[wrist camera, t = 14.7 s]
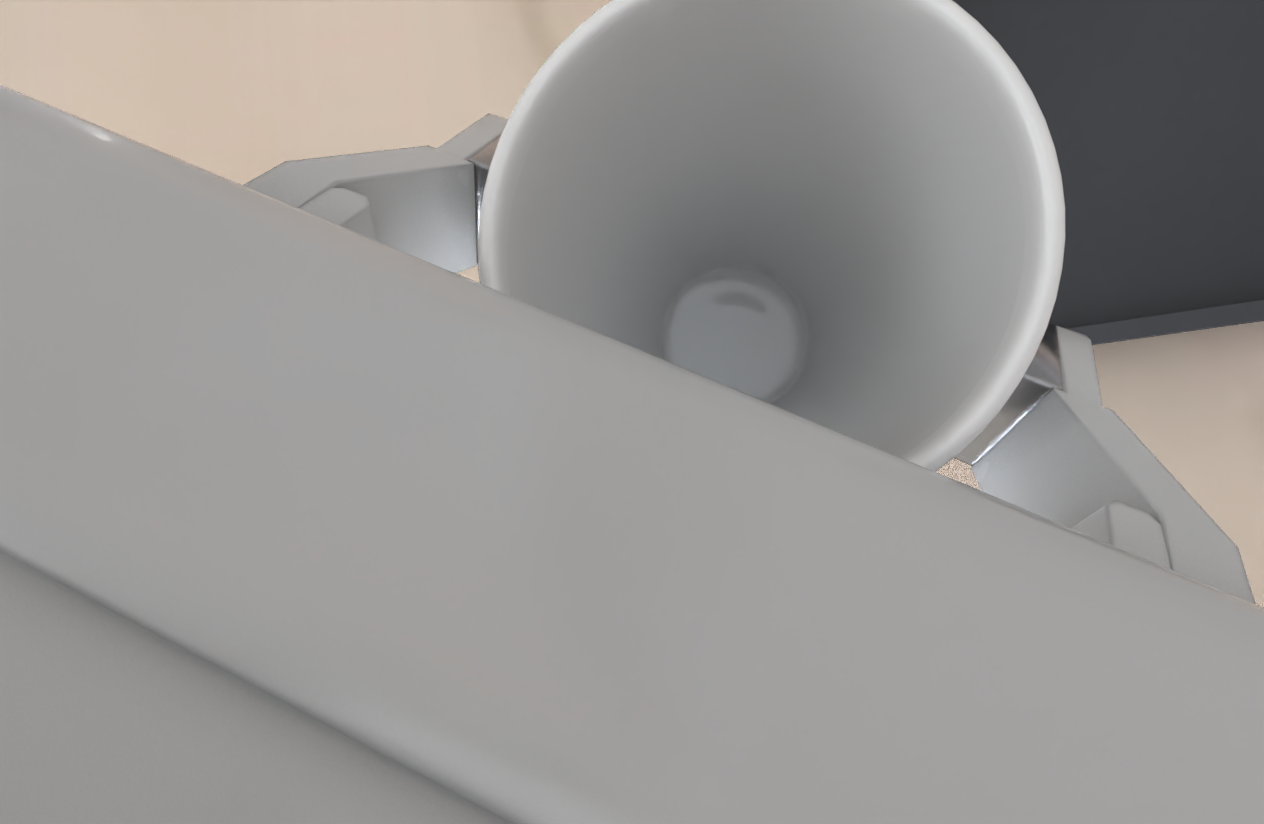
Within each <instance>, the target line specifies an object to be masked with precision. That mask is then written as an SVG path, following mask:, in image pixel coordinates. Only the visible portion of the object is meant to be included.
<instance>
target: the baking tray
mask: <svg viewBox="0 0 1264 824" xmlns="http://www.w3.org/2000/svg"><path fill="white" fill-rule="evenodd" d="M953 1H954V2H956V3H957V4H958V5H959V6H960V7H962V8H963V9H964V10H965V11H966V12H968V13H969V14H970V15H971V16H972V17H973V18H975V19H976V20H977V21H978V22H979V23H980V24H981V25H982V26H983V27H984V28H985V29H986V30H987V31H988V32H989V33H990V34H991V35H992V36H993V37H994V38H995V39H996V40H997V42H998V43H999V44H1000V45H1001V46H1002V48H1003V49H1004V50H1005V52H1006V53H1007V54H1008V55H1009V57H1010V58H1011V59H1012V61H1013V62H1014V63H1015V65H1016V66H1017V67H1018V69H1019V70H1020V72H1021V74H1022V75H1023V77H1024V79H1025V80H1026V82H1027V84H1028V85H1029V87H1030V89H1031V90H1032V92H1033V94H1034V96H1035V98H1036V100H1037V102H1038V105H1039V107H1040V109H1041V111H1042V113H1043V115H1044V117H1045V119H1046V122H1047V125H1048V128H1049V131H1050V134H1051V137H1052V140H1053V143H1054V146H1055V149H1056V154H1057V158H1058V162H1059V167H1060V171H1061V176H1062V183H1063V192H1064V201H1065V248H1064V258H1063V268H1062V273H1061V278H1060V283H1059V288H1058V293H1057V297H1056V301H1055V304H1054V308H1053V311H1052V314H1051V317H1050V320H1049V323H1052V324H1055V325H1057V326H1060V327H1063V328H1066V329H1069V330H1072V331H1075V332H1078V333H1081V334H1084V335H1086V336H1087V337H1088V338H1089V339H1090V340H1091V342H1092V345H1096V344H1103V343H1110V342H1117V341H1124V340H1131V339H1139V338H1146V337H1153V336H1160V335H1167V334H1174V333H1181V332H1188V331H1195V330H1202V329H1209V328H1216V327H1223V326H1230V325H1238V324H1245V323H1252V322H1259V321H1264V0H953Z"/></svg>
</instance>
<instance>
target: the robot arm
mask: <svg viewBox="0 0 1264 824" xmlns="http://www.w3.org/2000/svg"><path fill="white" fill-rule="evenodd" d="M507 121H508V119H506V118H503V117H500V116H497V115H493V114H489V113H488V114H487V115H485V116H484V117H483V118H481V119H480V120H478V121H477V122H475V123H474V124H472V125H471V126H469V127H468V128H466V129H465V130H464V131H462V132H461V133H459V134H458V135H456V136H455V137H453V138H452V139H450V140H449V141H447V142H446V143H445V144H443V145H442V146H440V147H439V148H437V149H436V148H433V147H431V146H421V147H412V148H402V149H393V150H384V151H375V152H366V153H357V154H348V155H339V156H330V157H321V158H312V159H303V160H294V161H285V162H283V163H282V164H280V165H278V166H276V167H274V168H273V169H271V170H269V171H267V172H265V173H264V174H262V175H260V176H258V177H257V178H255V179H253V180H251V181H249V182H248V183H246V184H244V185H241V184H238V183H236V182H234V181H231V180H229V179H226V178H224V177H222V176H219V175H217V174H214V173H212V172H209V171H207V170H205V169H202V168H200V167H197V166H195V165H193V164H190V163H188V162H185V161H183V160H181V159H178V158H176V157H173V156H171V155H168V154H166V153H164V152H161V151H159V150H156V149H154V148H152V147H149V146H147V145H144V144H142V143H139V142H137V141H135V140H132V139H130V138H127V137H125V136H123V135H120V134H118V133H115V132H113V131H111V130H108V129H106V128H103V127H101V126H98V125H96V124H94V123H91V122H89V121H86V120H84V119H82V118H79V117H77V116H74V115H72V114H70V113H67V112H65V111H62V110H60V109H57V108H55V107H53V106H50V105H48V104H45V103H43V102H41V101H38V100H36V99H33V98H31V97H28V96H26V95H24V94H21V93H19V92H16V91H14V90H12V89H9V88H7V87H4V86H2V85H0V824H1264V608H1262V607H1260V606H1257V605H1256V604H1255V601H1254V598H1253V595H1252V591H1251V588H1250V585H1249V582H1248V578H1247V575H1246V572H1245V569H1244V565H1243V562H1242V559H1241V555H1240V552H1239V549H1238V547H1237V546H1236V545H1235V544H1234V543H1233V541H1232V540H1231V539H1230V538H1229V537H1228V536H1227V535H1226V534H1225V533H1224V532H1223V530H1222V529H1221V528H1220V527H1219V526H1218V525H1217V524H1216V523H1215V522H1214V521H1213V519H1212V518H1211V517H1210V516H1209V515H1208V514H1207V513H1206V512H1205V511H1204V510H1203V509H1202V507H1201V506H1200V505H1199V504H1198V503H1197V502H1196V501H1195V500H1194V499H1193V498H1192V496H1191V495H1190V494H1189V493H1188V492H1187V491H1186V490H1185V489H1184V488H1183V487H1182V485H1181V484H1180V483H1179V482H1178V481H1177V480H1176V479H1175V478H1174V477H1173V476H1172V474H1171V473H1170V472H1169V471H1168V470H1167V469H1166V468H1165V467H1164V466H1163V465H1162V464H1161V462H1160V461H1159V460H1158V459H1157V458H1156V457H1155V456H1154V455H1153V454H1152V453H1151V451H1150V450H1149V449H1148V448H1147V447H1146V446H1145V445H1144V444H1143V443H1142V442H1141V440H1140V439H1139V438H1138V437H1137V436H1136V435H1135V434H1134V433H1133V432H1132V431H1131V429H1130V428H1129V427H1128V426H1127V425H1126V424H1125V423H1124V422H1123V421H1122V420H1121V419H1120V417H1119V416H1118V415H1117V414H1116V413H1115V412H1114V411H1112V410H1110V409H1107V408H1105V407H1103V405H1102V399H1101V393H1100V388H1099V382H1098V376H1097V371H1096V365H1095V359H1094V353H1093V348H1092V342H1091V340H1090V339H1089V338H1088V337H1087V336H1086V335H1084V334H1081V333H1078V332H1075V331H1072V330H1069V329H1066V328H1063V327H1060V326H1057V325H1055V324H1052V323H1048V326H1047V329H1046V332H1045V334H1044V336H1043V338H1042V341H1041V343H1040V345H1039V348H1038V350H1037V352H1036V354H1035V357H1034V359H1033V360H1032V362H1031V364H1030V366H1029V367H1028V369H1027V371H1026V373H1025V375H1024V376H1023V378H1022V380H1021V382H1020V383H1019V385H1018V386H1017V388H1016V389H1015V391H1014V392H1013V393H1012V395H1011V396H1010V398H1009V399H1008V401H1007V402H1006V403H1005V405H1004V406H1003V408H1002V409H1001V410H1000V411H999V413H998V414H997V415H996V416H995V417H994V418H993V419H992V421H991V422H990V423H989V424H988V425H987V426H986V428H985V429H984V430H983V431H982V432H981V433H980V434H979V435H978V436H977V437H976V438H975V439H974V440H973V441H972V442H971V443H970V444H969V445H968V446H967V447H965V448H964V449H963V450H962V451H961V452H960V453H959V454H958V455H957V456H955V457H954V458H955V459H957V460H959V461H962V462H964V463H966V464H969V465H971V466H972V467H971V469H972V471H973V474H974V476H975V478H976V480H977V482H978V484H979V486H980V488H981V490H982V491H980V490H978V489H975V488H973V487H970V486H968V485H965V484H963V483H961V482H958V481H956V480H953V479H951V478H949V477H946V476H944V475H941V474H939V473H936V472H934V471H932V470H929V469H927V468H924V467H922V466H920V465H917V464H915V463H912V462H910V461H907V460H905V459H903V458H900V457H898V456H895V455H893V454H891V453H888V452H886V451H883V450H881V449H878V448H876V447H874V446H871V445H869V444H866V443H864V442H862V441H859V440H857V439H854V438H852V437H849V436H847V435H845V434H842V433H840V432H837V431H835V430H833V429H830V428H828V427H825V426H823V425H820V424H818V423H816V422H813V421H811V420H808V419H806V418H804V417H801V416H799V415H796V414H794V413H791V412H789V411H787V410H784V409H782V408H779V407H777V406H775V405H772V404H770V403H767V402H765V401H762V400H760V399H758V398H755V397H753V396H750V395H748V394H746V393H743V392H741V391H738V390H736V389H734V388H731V387H729V386H726V385H724V384H721V383H719V382H717V381H714V380H712V379H709V378H707V377H705V376H702V375H700V374H697V373H695V372H692V371H690V370H688V369H685V368H683V367H680V366H678V365H676V364H673V363H671V362H668V361H666V360H663V359H661V358H659V357H656V356H654V355H651V354H649V353H647V352H644V351H642V350H639V349H637V348H634V347H632V346H630V345H627V344H625V343H622V342H620V341H618V340H615V339H613V338H610V337H608V336H606V335H603V334H601V333H598V332H596V331H593V330H591V329H589V328H586V327H584V326H581V325H579V324H577V323H574V322H572V321H569V320H567V319H564V318H562V317H560V316H557V315H555V314H552V313H550V312H548V311H545V310H543V309H540V308H538V307H535V306H533V305H531V304H528V303H526V302H523V301H521V300H519V299H516V298H514V297H511V296H509V295H506V294H504V293H502V292H499V291H497V290H494V289H492V288H490V287H487V286H485V285H482V284H480V283H478V282H475V281H473V280H470V279H468V278H465V277H463V276H461V275H458V274H456V273H458V272H461V271H463V270H466V269H469V268H472V267H474V266H477V263H478V231H479V217H480V211H481V204H482V198H483V191H484V187H485V183H486V179H487V176H488V172H489V168H490V164H491V161H492V158H493V155H494V153H495V150H496V147H497V144H498V141H499V139H500V136H501V134H502V132H503V130H504V128H505V125H506V123H507Z"/></svg>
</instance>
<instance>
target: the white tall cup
mask: <svg viewBox="0 0 1264 824" xmlns="http://www.w3.org/2000/svg"><path fill="white" fill-rule="evenodd" d="M1064 248H1065V201H1064V192H1063V183H1062V176H1061V171H1060V167H1059V162H1058V158H1057V154H1056V149H1055V146H1054V143H1053V140H1052V137H1051V134H1050V131H1049V128H1048V125H1047V122H1046V119H1045V117H1044V115H1043V113H1042V111H1041V109H1040V107H1039V105H1038V102H1037V100H1036V98H1035V96H1034V94H1033V92H1032V90H1031V89H1030V87H1029V85H1028V84H1027V82H1026V80H1025V79H1024V77H1023V75H1022V74H1021V72H1020V70H1019V69H1018V67H1017V66H1016V65H1015V63H1014V62H1013V61H1012V59H1011V58H1010V57H1009V55H1008V54H1007V53H1006V52H1005V50H1004V49H1003V48H1002V46H1001V45H1000V44H999V43H998V42H997V40H996V39H995V38H994V37H993V36H992V35H991V34H990V33H989V32H988V31H987V30H986V29H985V28H984V27H983V26H982V25H981V24H980V23H979V22H978V21H977V20H976V19H975V18H973V17H972V16H971V15H970V14H969V13H968V12H966V11H965V10H964V9H963V8H962V7H960V6H959V5H958V4H957V3H956V2H954V1H953V0H611V1H610V2H608V3H607V4H606V5H604V6H603V7H601V8H600V9H599V10H597V11H596V12H595V13H594V14H593V15H591V16H590V17H589V18H588V19H586V20H585V21H584V22H583V23H582V24H580V25H579V26H578V27H577V28H576V29H575V30H574V31H573V32H572V33H571V34H570V35H569V36H568V37H567V38H566V39H565V40H564V41H563V42H562V43H561V44H560V45H559V46H558V47H557V48H556V49H555V51H554V52H553V53H552V54H551V55H550V56H549V58H548V59H547V60H546V61H545V62H544V64H543V65H542V66H541V67H540V69H539V70H538V71H537V73H536V74H535V76H534V77H533V79H532V80H531V81H530V83H529V84H528V86H527V87H526V89H525V90H524V92H523V93H522V95H521V97H520V99H519V100H518V102H517V104H516V106H515V107H514V109H513V111H512V113H511V115H510V117H509V119H508V121H507V123H506V125H505V128H504V130H503V132H502V134H501V136H500V139H499V141H498V144H497V147H496V150H495V153H494V155H493V158H492V161H491V164H490V168H489V172H488V176H487V179H486V183H485V187H484V191H483V198H482V204H481V211H480V217H479V231H478V272H479V280H480V284H482V285H485V286H487V287H490V288H492V289H494V290H497V291H499V292H502V293H504V294H506V295H509V296H511V297H514V298H516V299H519V300H521V301H523V302H526V303H528V304H531V305H533V306H535V307H538V308H540V309H543V310H545V311H548V312H550V313H552V314H555V315H557V316H560V317H562V318H564V319H567V320H569V321H572V322H574V323H577V324H579V325H581V326H584V327H586V328H589V329H591V330H593V331H596V332H598V333H601V334H603V335H606V336H608V337H610V338H613V339H615V340H618V341H620V342H622V343H625V344H627V345H630V346H632V347H634V348H637V349H639V350H642V351H644V352H647V353H649V354H651V355H654V356H656V357H659V358H661V359H663V360H666V361H668V362H671V363H673V364H676V365H678V366H680V367H683V368H685V369H688V370H690V371H692V372H695V373H697V374H700V375H702V376H705V377H707V378H709V379H712V380H714V381H717V382H719V383H721V384H724V385H726V386H729V387H731V388H734V389H736V390H738V391H741V392H743V393H746V394H748V395H750V396H753V397H755V398H758V399H760V400H762V401H765V402H767V403H770V404H772V405H775V406H777V407H779V408H782V409H784V410H787V411H789V412H791V413H794V414H796V415H799V416H801V417H804V418H806V419H808V420H811V421H813V422H816V423H818V424H820V425H823V426H825V427H828V428H830V429H833V430H835V431H837V432H840V433H842V434H845V435H847V436H849V437H852V438H854V439H857V440H859V441H862V442H864V443H866V444H869V445H871V446H874V447H876V448H878V449H881V450H883V451H886V452H888V453H891V454H893V455H895V456H898V457H900V458H903V459H905V460H907V461H910V462H912V463H915V464H917V465H920V466H922V467H924V468H927V469H929V470H932V471H934V472H936V471H937V470H939V469H940V468H941V467H942V466H944V465H945V464H946V463H948V462H949V461H950V460H951V459H953V458H954V457H955V456H957V455H958V454H959V453H960V452H961V451H962V450H963V449H964V448H965V447H967V446H968V445H969V444H970V443H971V442H972V441H973V440H974V439H975V438H976V437H977V436H978V435H979V434H980V433H981V432H982V431H983V430H984V429H985V428H986V426H987V425H988V424H989V423H990V422H991V421H992V419H993V418H994V417H995V416H996V415H997V414H998V413H999V411H1000V410H1001V409H1002V408H1003V406H1004V405H1005V403H1006V402H1007V401H1008V399H1009V398H1010V396H1011V395H1012V393H1013V392H1014V391H1015V389H1016V388H1017V386H1018V385H1019V383H1020V382H1021V380H1022V378H1023V376H1024V375H1025V373H1026V371H1027V369H1028V367H1029V366H1030V364H1031V362H1032V360H1033V359H1034V357H1035V354H1036V352H1037V350H1038V348H1039V345H1040V343H1041V341H1042V338H1043V336H1044V334H1045V332H1046V329H1047V326H1048V323H1049V320H1050V317H1051V314H1052V311H1053V308H1054V304H1055V301H1056V297H1057V293H1058V288H1059V283H1060V278H1061V273H1062V268H1063V258H1064Z"/></svg>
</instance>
